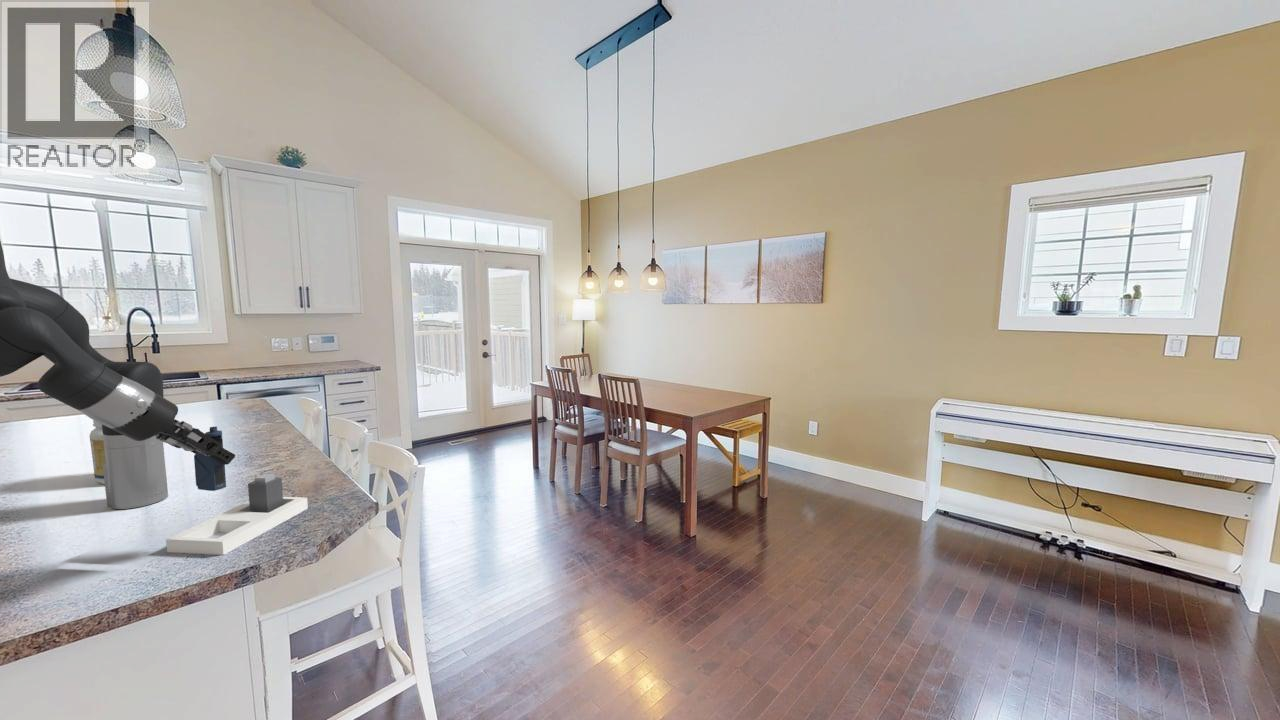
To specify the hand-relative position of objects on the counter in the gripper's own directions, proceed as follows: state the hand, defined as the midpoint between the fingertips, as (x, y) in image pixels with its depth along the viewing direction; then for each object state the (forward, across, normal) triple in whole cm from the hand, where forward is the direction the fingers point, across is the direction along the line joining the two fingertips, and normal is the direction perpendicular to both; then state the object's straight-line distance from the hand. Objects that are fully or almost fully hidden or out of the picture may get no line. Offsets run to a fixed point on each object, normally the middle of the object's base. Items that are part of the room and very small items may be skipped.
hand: (221, 457), depth 89 cm
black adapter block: (+18, -4, -5) cm, 19 cm away
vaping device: (+3, 0, -5) cm, 6 cm away
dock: (+15, -2, -10) cm, 18 cm away
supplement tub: (+19, -65, -6) cm, 68 cm away
